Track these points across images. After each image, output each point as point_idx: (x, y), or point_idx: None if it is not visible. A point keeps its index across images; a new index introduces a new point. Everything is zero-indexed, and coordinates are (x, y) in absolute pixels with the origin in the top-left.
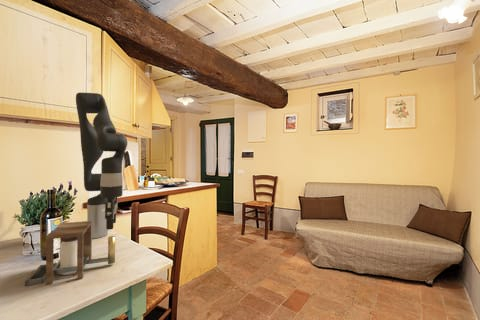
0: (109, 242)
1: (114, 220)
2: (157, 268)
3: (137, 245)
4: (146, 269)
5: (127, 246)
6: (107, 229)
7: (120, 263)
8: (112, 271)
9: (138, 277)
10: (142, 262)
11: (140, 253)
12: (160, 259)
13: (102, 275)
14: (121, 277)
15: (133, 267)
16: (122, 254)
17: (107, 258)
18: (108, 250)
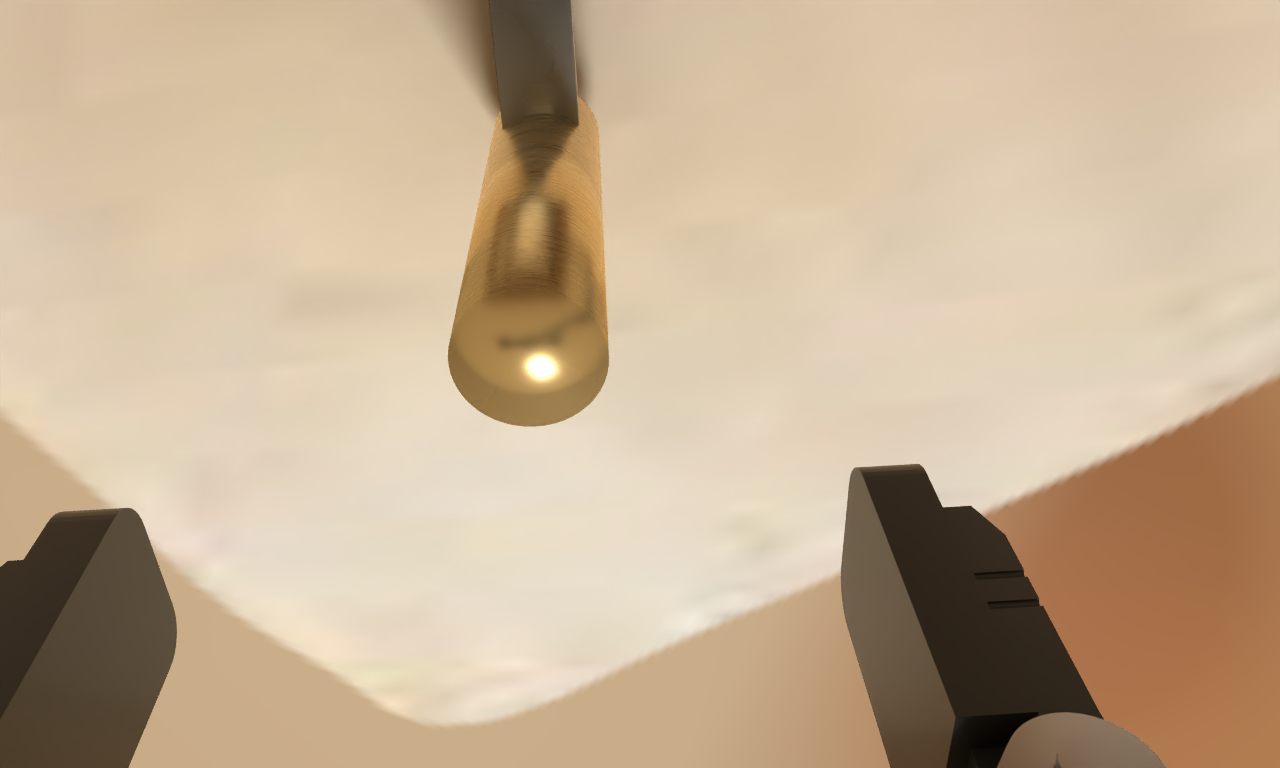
0: (464, 277)
1: (863, 638)
2: (294, 641)
3: (1200, 396)
4: (290, 546)
5: (1254, 259)
6: (75, 524)
7: None
8: (315, 172)
9: (90, 485)
10: (511, 497)
11: (837, 456)
12: (537, 662)
13: (205, 54)
14: (110, 310)
15: (383, 413)
16: (922, 225)
17: (516, 109)
18: (496, 181)
